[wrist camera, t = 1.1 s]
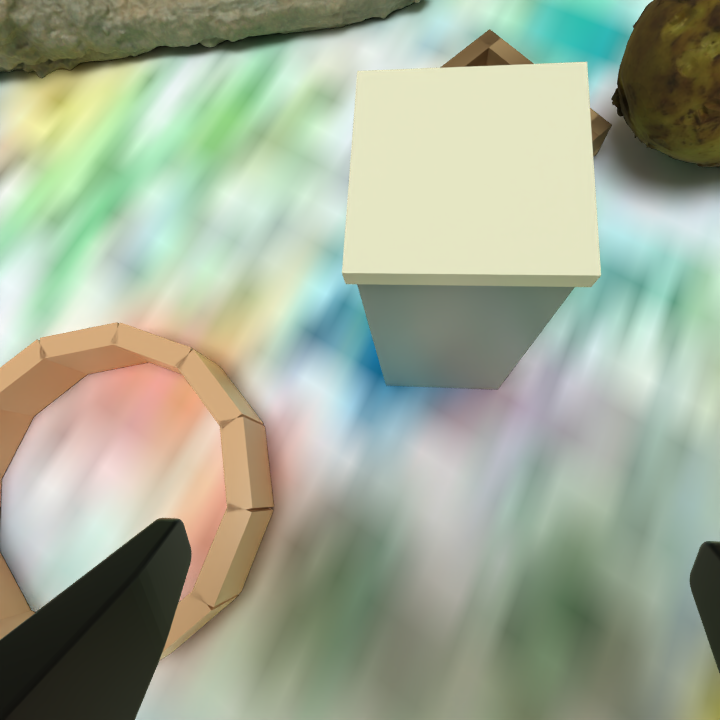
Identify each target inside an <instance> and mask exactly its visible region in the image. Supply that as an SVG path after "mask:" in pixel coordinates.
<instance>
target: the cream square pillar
mask: <svg viewBox="0 0 720 720" xmlns="http://www.w3.org/2000/svg"><path fill="white" fill-rule="evenodd" d="M342 274H343V277H344V280H345V283H346V284H357V285H358V289H359V292H360V296H361V299H362V303H363V306H364V310H365V313H366V317H367V320H368V324H369V327H370V331H371V334H372V338H373V341H374V345H375V348H376V352H377V355H378V359H379V362H380V366H381V369H382V373H383V376H384V380H385V383H386V385H387V386H414V387H441V388H468V389H495V390H498V388H499V387H500V386H501V384H502V383H503V382H504V380H505V379H506V378H507V376H508V375H509V374H510V372H511V371H512V370H513V368H514V367H515V366H516V364H517V363H518V362H519V360H520V359H521V358H522V357H523V355H524V354H525V353H526V351H527V350H528V349H529V347H530V346H531V345H532V343H533V342H534V341H535V339H536V338H537V337H538V335H539V334H540V333H541V331H542V330H543V329H544V327H545V326H546V325H547V323H548V322H549V321H550V319H551V318H552V317H553V315H554V314H555V313H556V311H557V310H558V309H559V307H560V306H561V305H562V303H563V302H564V301H565V299H566V298H567V297H568V295H569V294H570V293H571V291H572V290H573V289H574V287H592V286H593V284H594V283H595V282H596V281H597V280H598V278H599V277H600V276H601V269H600V254H599V238H598V223H597V208H596V193H595V177H594V162H593V147H592V132H591V116H590V101H589V86H588V71H587V62H573V63H547V64H522V65H497V66H472V67H447V68H422V69H397V70H372V71H357V83H356V96H355V110H354V123H353V136H352V149H351V162H350V175H349V188H348V201H347V215H346V228H345V241H344V254H343V267H342Z"/></svg>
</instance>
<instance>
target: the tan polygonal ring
mask: <svg viewBox="0 0 720 720" xmlns="http://www.w3.org/2000/svg"><path fill="white" fill-rule="evenodd" d="M147 362H150V363H153V364H155V365H158V366H161V367H164V368H166V369H169V370H172V371H174V372H177V373H180V374H182V375H183V376H184V378H185V379H186V380H187V382H188V383H189V384H190V386H191V387H192V389H193V390H194V391H195V393H196V394H197V395H198V397H199V398H200V399H201V401H202V402H203V404H204V405H205V406H206V408H207V409H208V410H209V412H210V413H211V415H212V416H213V417H214V419H215V420H216V421H217V423H218V424H219V426H220V434H221V445H222V457H223V468H224V479H225V491H226V502H227V509H226V511H225V514H224V516H223V518H222V521H221V523H220V526H219V528H218V530H217V533H216V535H215V538H214V540H213V543H212V545H211V547H210V550H209V552H208V555H207V557H206V559H205V562H204V564H203V567H202V569H201V572H200V574H199V576H198V579H197V581H196V584H195V586H194V588H193V591H192V592H191V593H190V594H188V595H187V596H186V597H185V598H184V599H183V600H181V601H180V602H179V603H178V606H177V609H176V612H175V616H174V619H173V622H172V625H171V629H170V632H169V635H168V638H167V641H166V644H165V647H164V650H163V652H162V655H161V657H160V660H162V659H163V658H165V657H166V656H168V655H169V654H171V653H172V652H173V651H175V650H176V649H177V648H178V647H179V646H180V645H182V644H183V643H184V642H185V641H186V640H187V639H189V638H190V637H191V636H192V635H193V634H194V633H196V632H197V631H198V630H199V629H200V628H201V627H203V626H204V625H205V624H206V623H207V622H208V621H210V620H211V619H212V618H213V617H214V616H215V615H217V614H218V613H219V612H220V611H221V610H222V609H224V608H225V607H226V606H227V605H228V604H229V603H231V602H232V601H233V600H234V599H235V598H236V597H238V596H239V595H238V594H239V593H241V591H242V589H243V586H244V584H245V581H246V578H247V576H248V573H249V571H250V568H251V566H252V563H253V561H254V558H255V556H256V553H257V550H258V548H259V545H260V543H261V540H262V538H263V535H264V533H265V530H266V528H267V525H268V523H269V520H270V517H271V515H272V512H273V510H272V509H270V508H269V507H274V503H273V495H272V486H271V477H270V468H269V459H268V450H267V442H266V433H265V426H262V425H263V422H262V421H261V420H260V418H259V417H258V416H257V414H256V413H255V412H254V410H253V409H252V408H251V406H250V405H249V404H248V403H247V401H246V400H245V399H244V397H243V396H242V395H241V393H240V392H239V391H238V389H237V388H236V387H235V385H234V384H233V383H232V382H231V380H230V379H229V378H228V376H227V375H226V374H225V372H224V371H223V370H222V368H221V367H220V366H218V365H217V364H215V363H214V362H212V361H211V360H209V359H208V358H206V357H205V356H203V355H202V354H200V353H199V352H197V351H196V350H194V349H192V348H191V347H188V346H185V345H182V344H179V343H177V342H174V341H171V340H168V339H165V338H162V337H160V336H157V335H154V334H151V333H148V332H145V331H143V330H140V329H137V328H134V327H131V326H129V325H126V324H123V323H120V324H119V323H112V324H107V325H102V326H97V327H92V328H87V329H82V330H77V331H72V332H67V333H62V334H57V335H52V336H47V337H42V338H40V340H38V339H37V340H36V341H34V342H33V343H32V344H30V345H29V346H28V347H27V348H25V349H24V350H23V351H21V352H20V353H19V354H17V355H16V356H15V357H14V358H12V359H11V360H10V361H8V362H7V363H6V364H4V365H3V366H2V367H1V368H0V505H1V479H2V477H3V475H4V473H5V471H6V469H7V467H8V465H9V463H10V462H11V460H12V458H13V456H14V454H15V452H16V450H17V448H18V446H19V444H20V442H21V440H22V438H23V436H24V434H25V432H26V431H27V429H28V427H29V425H30V423H31V421H32V419H33V417H34V416H35V415H36V414H37V413H39V412H40V411H41V410H42V409H44V408H45V407H46V406H47V405H49V404H50V403H51V402H53V401H54V400H55V399H56V398H58V397H59V396H60V395H61V394H63V393H64V392H65V391H67V390H68V389H69V388H70V387H72V386H73V385H74V384H75V383H77V382H78V381H79V380H81V379H82V378H83V377H84V376H86V375H87V374H91V373H96V372H102V371H107V370H112V369H117V368H122V367H127V366H132V365H137V364H142V363H147ZM34 613H35V612H33V611H31V610H30V608H29V606H28V604H27V602H26V600H25V598H24V596H23V594H22V593H21V591H20V589H19V587H18V585H17V583H16V581H15V579H14V577H13V576H12V574H11V572H10V570H9V568H8V566H7V564H6V562H5V560H4V559H3V557H2V555H1V553H0V639H2V638H3V637H4V636H6V635H7V634H8V633H9V632H11V631H12V630H13V629H15V628H16V627H17V626H19V625H20V624H21V623H23V622H24V621H25V620H26V619H28V618H29V617H30V616H32V615H33V614H34ZM160 660H159V661H160Z"/></svg>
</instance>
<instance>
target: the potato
mask: <svg viewBox="0 0 720 720" xmlns="http://www.w3.org/2000/svg"><path fill="white" fill-rule="evenodd" d="M633 28H634V29H633V32H632V34H631V36H630V38H629V40H628V43H627V46H626V49H625V53H624V56H623V59H622V62H621V65H620V69H619V73H618V81H617V85H618V88H617V89H616V91H615V93H614V95H613V96H612V100H613V102H612V104H613V105H615V106H616V107H617V114H618V115H619V116H624V119H625V121H626V123H627V125H629V126H630V128H631V130H632V131H633V133H634V134H635V138H636V137H638V139H639V140H640V141H641V142H642V143H645V144H646V146H647V147H650V148H652V149H657V150H658V151H660V152H662V153H664V154H666V155H668V156H669V157H671V158H673V159H677V160H681V161H684V162H689V163H696V164H697V165H698V166H701V167H715V166H716V167H719V166H720V0H653V1H652V2H651V3H649V4H648V5H647V6H646V8H645V9H644V11H643V12H642V14H641V16H640V17H639V19H638V20H637V22H636V23H635V24H634V26H633Z"/></svg>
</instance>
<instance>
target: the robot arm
mask: <svg viewBox="0 0 720 720" xmlns="http://www.w3.org/2000/svg"><path fill="white" fill-rule="evenodd" d="M190 562H191V547H190V544H189V540H188V537H187V533H186V530H185V527H184V524H183V522H182V521H181V520H180V519H174V518H160V519H157V520H156V521H154V522H153V523H152V524H150V525H149V526H148V527H146V528H145V529H144V530H142V531H141V532H140V533H138V534H137V535H136V536H135V537H133V538H132V539H131V540H129V541H128V542H127V543H125V544H124V545H123V546H122V547H120V548H119V549H118V550H116V551H115V552H114V553H112V554H111V555H110V556H109V557H107V558H106V559H105V560H103V561H102V562H101V563H99V564H98V565H97V566H95V567H94V568H93V569H92V570H90V571H89V572H88V573H86V574H85V575H84V576H82V577H81V578H80V579H79V580H77V581H76V582H75V583H73V584H72V585H71V586H69V587H68V588H67V589H66V590H64V591H63V592H62V593H60V594H59V595H58V596H56V597H55V598H54V599H52V600H51V601H50V602H49V603H47V604H46V605H45V606H43V607H42V608H41V609H39V610H38V611H37V612H36V613H34V614H33V615H32V616H30V617H29V618H28V619H26V620H25V621H24V622H23V623H21V624H20V625H19V626H17V627H16V628H15V629H13V630H12V631H11V632H9V633H8V634H7V635H6V636H4V637H3V638H2V639H0V720H135V718H136V715H137V713H138V711H139V708H140V706H141V703H142V701H143V699H144V696H145V694H146V691H147V689H148V686H149V684H150V682H151V679H152V677H153V674H154V672H155V670H156V667H157V665H158V662H159V660H160V657H161V655H162V652H163V650H164V647H165V644H166V641H167V638H168V635H169V632H170V629H171V625H172V622H173V619H174V616H175V612H176V609H177V606H178V602H179V599H180V596H181V592H182V589H183V586H184V582H185V579H186V576H187V572H188V569H189V566H190ZM690 587H691V591H692V594H693V597H694V600H695V603H696V606H697V608H698V611H699V614H700V617H701V620H702V623H703V626H704V629H705V632H706V635H707V638H708V641H709V644H710V647H711V650H712V652H713V655H714V658H715V661H716V664H717V667H718V670H719V673H720V542H715V541H707V542H704V543H703V544H702V545H701V547H700V549H699V552H698V554H697V557H696V560H695V562H694V565H693V568H692V570H691V573H690Z"/></svg>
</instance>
